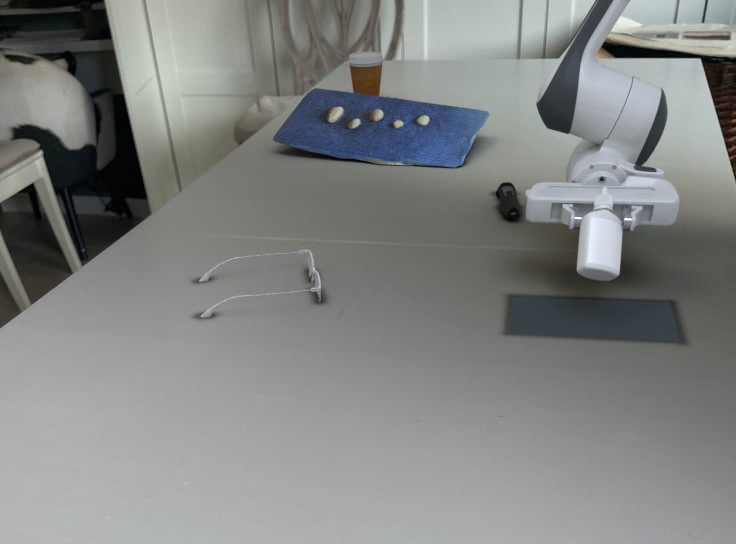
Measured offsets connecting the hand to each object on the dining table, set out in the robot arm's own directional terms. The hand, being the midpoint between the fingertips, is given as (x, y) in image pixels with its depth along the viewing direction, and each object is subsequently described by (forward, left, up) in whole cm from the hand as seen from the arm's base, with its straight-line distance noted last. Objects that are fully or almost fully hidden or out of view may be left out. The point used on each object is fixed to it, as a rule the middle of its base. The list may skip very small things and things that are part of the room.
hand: (602, 224), depth 106 cm
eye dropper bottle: (0, +4, -5) cm, 7 cm away
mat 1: (+43, -84, -12) cm, 95 cm away
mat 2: (0, +3, -12) cm, 13 cm away
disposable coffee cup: (+54, -124, -12) cm, 136 cm away
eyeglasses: (+49, -1, -12) cm, 51 cm away
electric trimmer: (+13, -43, -12) cm, 46 cm away
